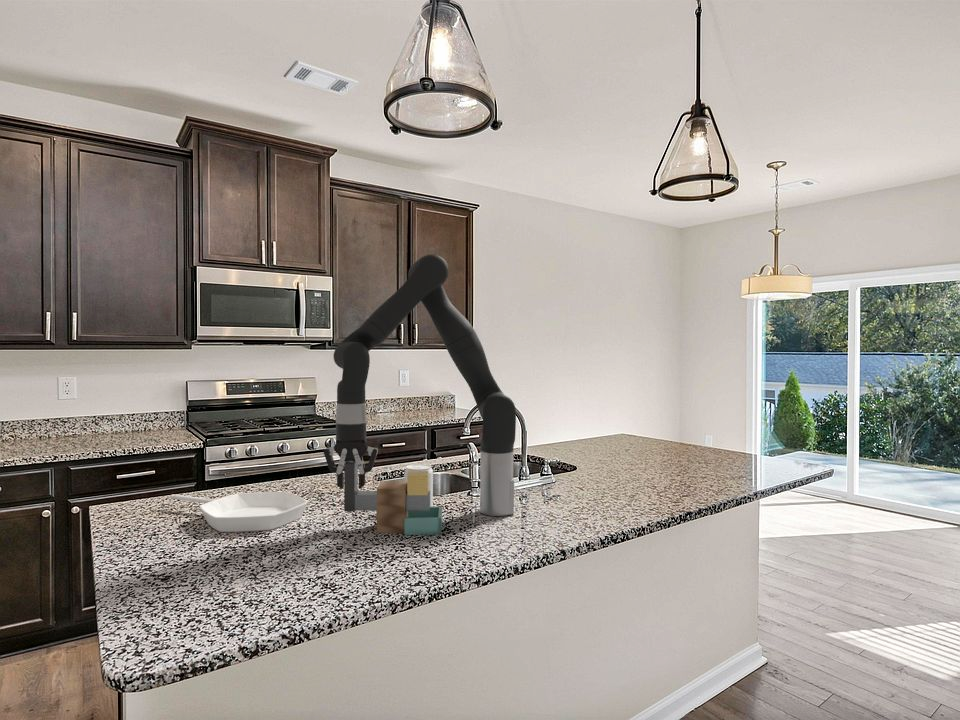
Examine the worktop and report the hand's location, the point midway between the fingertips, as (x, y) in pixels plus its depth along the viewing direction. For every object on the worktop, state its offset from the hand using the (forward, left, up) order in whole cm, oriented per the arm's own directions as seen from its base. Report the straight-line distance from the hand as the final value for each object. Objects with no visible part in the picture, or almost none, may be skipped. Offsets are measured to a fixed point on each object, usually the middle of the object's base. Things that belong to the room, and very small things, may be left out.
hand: (351, 487), depth 152 cm
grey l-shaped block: (-9, 0, -5) cm, 11 cm away
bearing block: (-11, 0, -10) cm, 15 cm away
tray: (-19, 0, -10) cm, 21 cm away
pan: (+34, -11, -11) cm, 38 cm away
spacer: (-17, 0, -1) cm, 17 cm away
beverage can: (-16, -18, -10) cm, 26 cm away
